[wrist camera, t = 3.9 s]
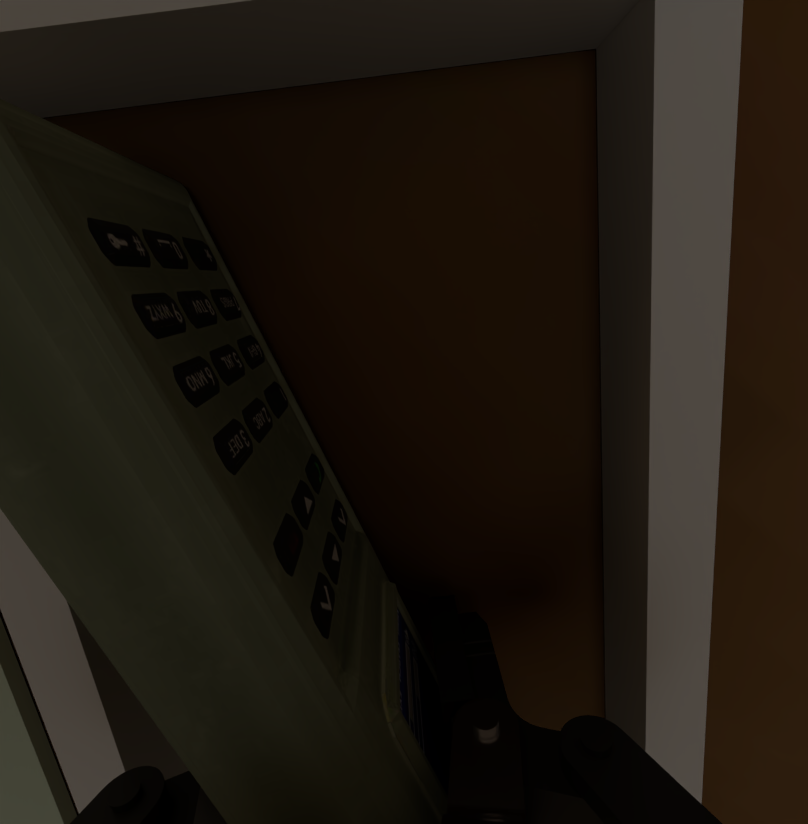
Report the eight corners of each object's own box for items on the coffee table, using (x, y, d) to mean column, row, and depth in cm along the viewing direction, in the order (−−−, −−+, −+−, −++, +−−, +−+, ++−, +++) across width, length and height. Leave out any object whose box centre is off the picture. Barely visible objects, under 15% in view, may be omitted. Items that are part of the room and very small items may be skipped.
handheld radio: (199, 163, 11) (561, 886, 17) (71, 224, 11) (473, 917, 18) (-57, 4, 5) (664, 1245, 11) (-337, 155, 5) (523, 1285, 11)
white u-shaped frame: (205, 963, 18) (163, 1122, 15) (-95, 52, 10) (-326, -55, 7) (650, 912, 18) (710, 1060, 15) (667, -44, 10) (799, -197, 7)
